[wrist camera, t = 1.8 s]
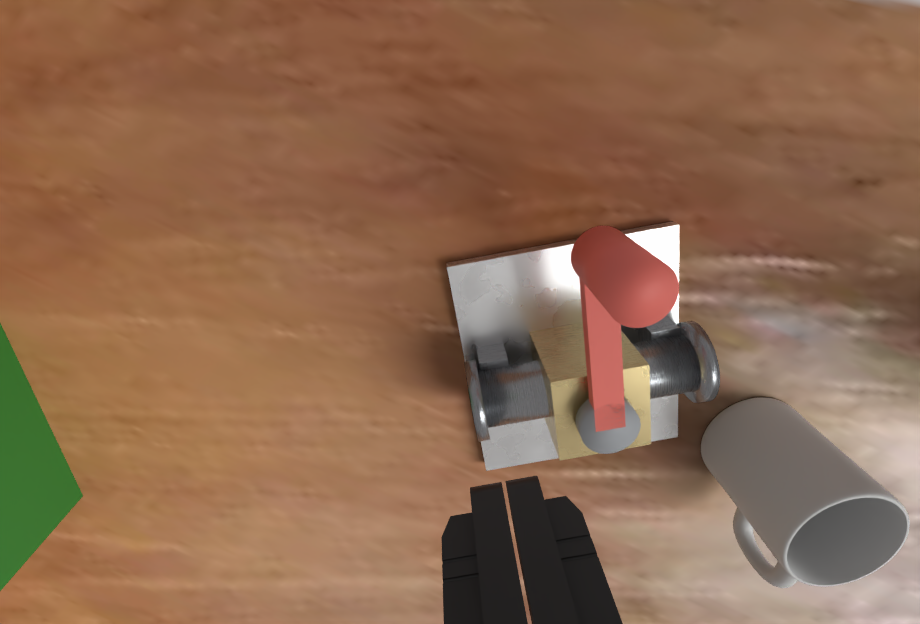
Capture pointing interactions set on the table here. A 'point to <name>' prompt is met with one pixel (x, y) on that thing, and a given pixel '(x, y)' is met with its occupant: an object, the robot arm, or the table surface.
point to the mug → (800, 497)
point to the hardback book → (27, 469)
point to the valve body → (565, 352)
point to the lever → (615, 326)
